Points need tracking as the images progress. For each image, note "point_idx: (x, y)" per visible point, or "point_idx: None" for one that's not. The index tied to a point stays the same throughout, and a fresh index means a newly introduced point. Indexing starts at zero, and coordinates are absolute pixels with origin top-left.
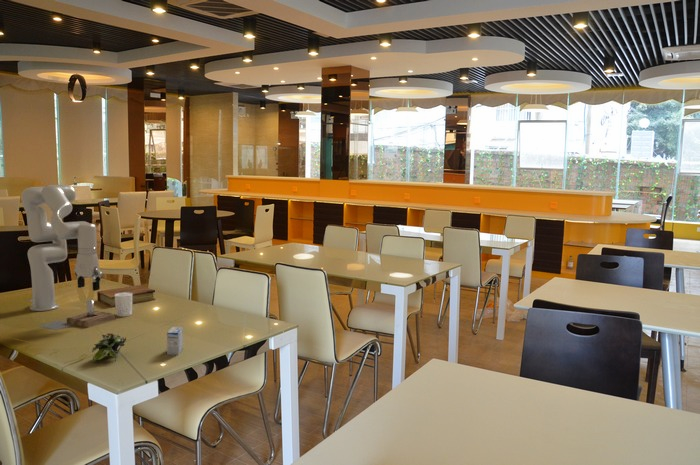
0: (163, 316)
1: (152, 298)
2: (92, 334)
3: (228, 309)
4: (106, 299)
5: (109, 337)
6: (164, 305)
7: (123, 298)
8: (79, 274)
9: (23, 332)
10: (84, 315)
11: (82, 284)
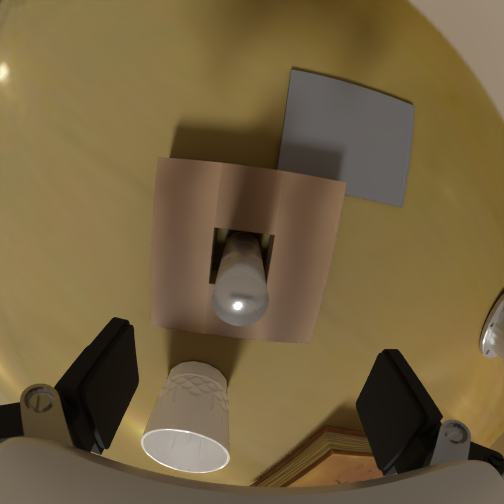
0: None
1: None
2: (89, 102)
3: None
4: (367, 446)
5: None
6: None
7: (152, 422)
8: (418, 499)
9: (396, 35)
10: (282, 252)
11: (372, 404)
